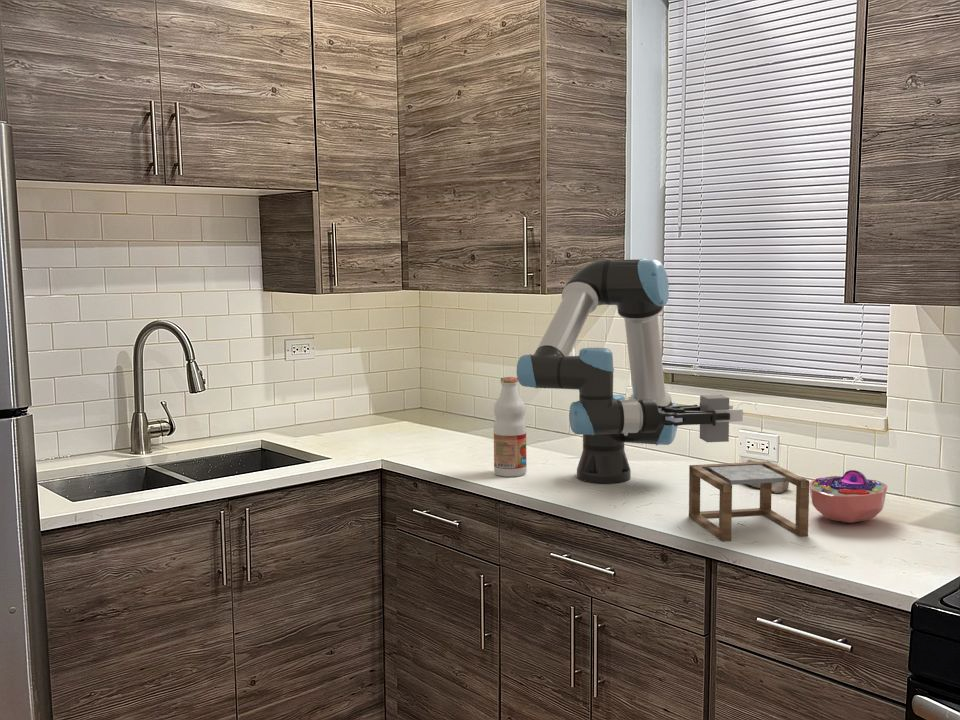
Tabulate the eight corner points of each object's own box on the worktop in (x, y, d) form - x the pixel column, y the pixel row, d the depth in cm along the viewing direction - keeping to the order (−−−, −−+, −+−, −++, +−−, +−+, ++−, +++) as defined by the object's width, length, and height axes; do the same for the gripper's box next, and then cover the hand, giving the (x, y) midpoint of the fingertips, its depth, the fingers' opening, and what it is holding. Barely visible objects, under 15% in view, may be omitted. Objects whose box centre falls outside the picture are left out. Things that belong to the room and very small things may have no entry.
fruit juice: (490, 471, 274) (489, 376, 270) (522, 469, 275) (521, 375, 272) (498, 478, 264) (497, 380, 261) (530, 476, 266) (529, 379, 263)
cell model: (790, 519, 220) (791, 472, 219) (837, 505, 232) (839, 460, 231) (856, 536, 206) (858, 486, 205) (903, 519, 218) (905, 472, 217)
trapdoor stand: (688, 516, 224) (689, 465, 222) (767, 511, 227) (768, 461, 225) (722, 541, 204) (723, 485, 203) (808, 535, 207) (809, 480, 206)
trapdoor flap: (704, 471, 220) (704, 467, 220) (761, 468, 223) (762, 464, 222) (728, 484, 207) (728, 480, 207) (788, 481, 209) (788, 477, 209)
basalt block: (699, 438, 216) (700, 395, 214) (720, 437, 216) (721, 394, 215) (707, 442, 211) (708, 398, 210) (728, 441, 211) (729, 397, 210)
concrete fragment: (773, 495, 242) (773, 470, 241) (731, 482, 256) (731, 458, 255) (796, 491, 246) (796, 466, 245) (753, 479, 260) (754, 454, 259)
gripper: (627, 425, 220) (721, 422, 223) (650, 440, 202) (752, 436, 205) (627, 394, 219) (722, 391, 222) (650, 406, 201) (753, 402, 204)
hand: (736, 413), depth 213 cm, fingers closed on basalt block, 5 cm apart
